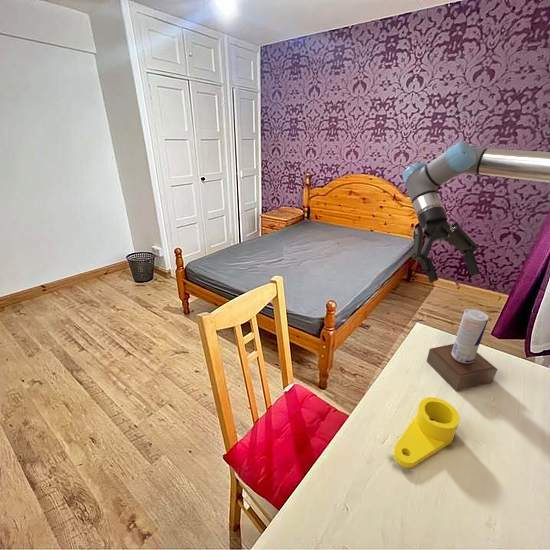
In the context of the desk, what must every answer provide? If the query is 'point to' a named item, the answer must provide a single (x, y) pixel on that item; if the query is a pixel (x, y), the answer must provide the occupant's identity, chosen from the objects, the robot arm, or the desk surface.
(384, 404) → the desk surface
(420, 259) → the robot arm
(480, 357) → the block
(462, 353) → the beverage can
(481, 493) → the desk surface
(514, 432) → the desk surface
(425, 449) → the crank
